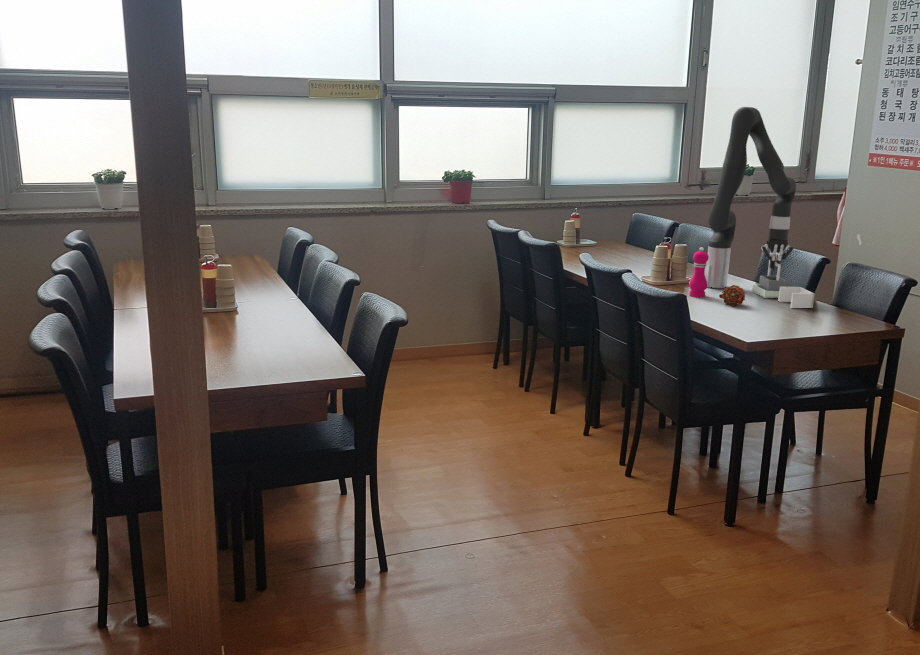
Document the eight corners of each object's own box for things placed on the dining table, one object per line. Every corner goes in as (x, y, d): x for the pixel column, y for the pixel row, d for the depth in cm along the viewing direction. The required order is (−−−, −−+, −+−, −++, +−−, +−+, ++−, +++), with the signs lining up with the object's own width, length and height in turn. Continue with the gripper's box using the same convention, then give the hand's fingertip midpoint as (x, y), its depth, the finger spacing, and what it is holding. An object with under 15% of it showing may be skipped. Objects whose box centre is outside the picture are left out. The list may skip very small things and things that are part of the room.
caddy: (767, 293, 325) (771, 264, 322) (758, 288, 335) (761, 260, 332) (784, 293, 325) (788, 264, 322) (775, 288, 335) (778, 260, 332)
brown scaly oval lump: (736, 312, 305) (724, 309, 317) (754, 299, 305) (742, 297, 317) (723, 294, 304) (712, 292, 316) (742, 281, 304) (730, 280, 316)
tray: (764, 298, 324) (765, 291, 323) (752, 291, 337) (752, 284, 336) (790, 299, 324) (791, 291, 323) (777, 291, 337) (778, 284, 336)
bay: (791, 308, 307) (793, 293, 305) (778, 301, 319) (779, 286, 318) (812, 309, 307) (814, 293, 306) (798, 301, 319) (800, 287, 318)
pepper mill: (704, 294, 329) (709, 246, 324) (707, 298, 322) (712, 248, 317) (686, 293, 330) (691, 245, 325) (689, 297, 323) (694, 248, 318)
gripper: (792, 226, 327) (786, 268, 332) (759, 225, 327) (754, 267, 331) (799, 228, 320) (794, 271, 324) (766, 228, 320) (761, 270, 324)
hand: (774, 269), depth 328 cm, fingers closed
